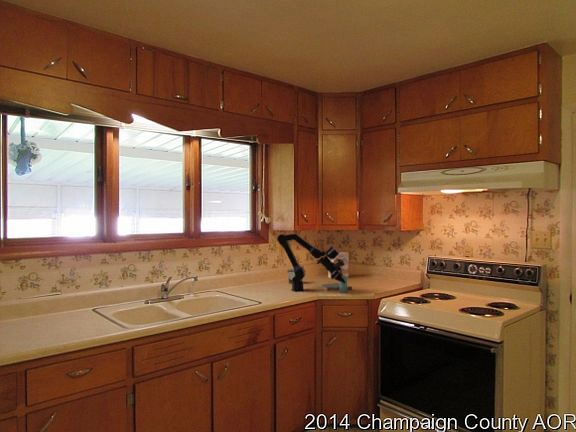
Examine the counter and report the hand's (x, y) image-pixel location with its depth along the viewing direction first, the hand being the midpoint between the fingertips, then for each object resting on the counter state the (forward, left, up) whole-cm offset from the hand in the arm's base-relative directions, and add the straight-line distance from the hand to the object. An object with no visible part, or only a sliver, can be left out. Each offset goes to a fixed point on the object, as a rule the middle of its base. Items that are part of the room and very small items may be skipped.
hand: (345, 282), depth 254 cm
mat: (+5, +20, -7) cm, 22 cm away
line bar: (+1, +8, -7) cm, 10 cm away
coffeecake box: (+29, +49, -7) cm, 57 cm away
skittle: (-1, +1, -7) cm, 7 cm away
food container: (-12, +44, -7) cm, 46 cm away
